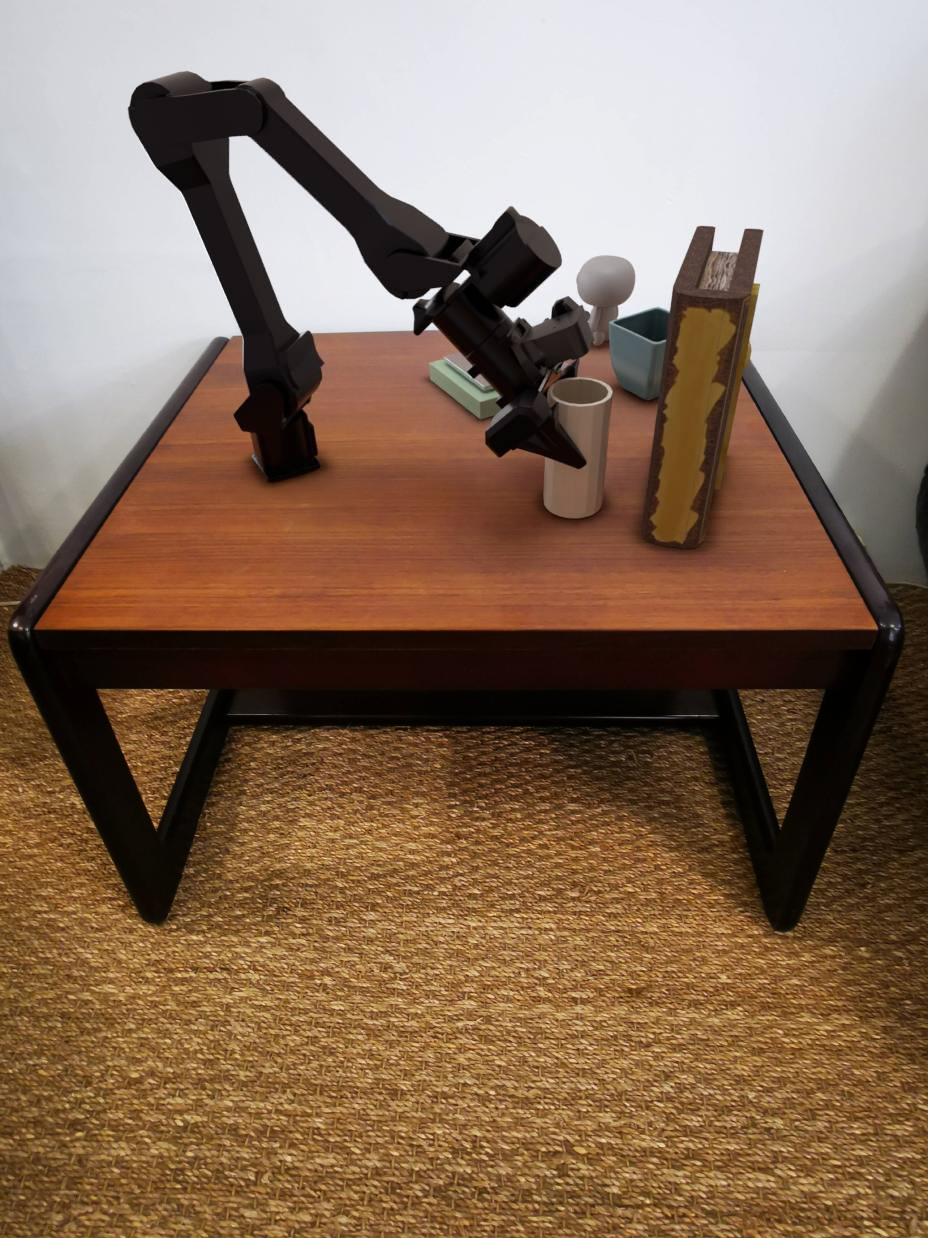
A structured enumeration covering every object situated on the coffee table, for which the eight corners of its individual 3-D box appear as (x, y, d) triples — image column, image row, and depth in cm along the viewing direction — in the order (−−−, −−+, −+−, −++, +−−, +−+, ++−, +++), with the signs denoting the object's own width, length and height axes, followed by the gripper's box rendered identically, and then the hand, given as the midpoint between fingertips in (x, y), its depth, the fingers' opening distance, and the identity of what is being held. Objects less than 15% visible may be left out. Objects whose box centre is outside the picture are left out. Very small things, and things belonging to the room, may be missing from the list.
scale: (480, 419, 105) (479, 399, 103) (429, 379, 115) (428, 360, 113) (571, 392, 110) (572, 372, 108) (515, 356, 120) (515, 337, 118)
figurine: (593, 328, 126) (599, 245, 118) (637, 339, 123) (646, 254, 115) (564, 346, 122) (568, 261, 114) (609, 358, 118) (616, 271, 110)
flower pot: (696, 392, 109) (707, 325, 103) (647, 412, 105) (656, 343, 99) (649, 370, 115) (657, 305, 109) (601, 387, 111) (606, 321, 105)
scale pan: (484, 390, 105) (484, 386, 104) (443, 360, 112) (443, 356, 112) (556, 370, 109) (556, 366, 108) (512, 342, 116) (512, 337, 116)
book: (712, 553, 82) (763, 301, 66) (627, 539, 85) (656, 292, 68) (731, 446, 98) (777, 221, 82) (659, 437, 100) (689, 216, 84)
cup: (565, 524, 87) (572, 411, 78) (532, 497, 91) (536, 386, 83) (613, 507, 89) (625, 395, 81) (579, 481, 93) (587, 371, 85)
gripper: (519, 319, 69) (638, 452, 74) (565, 249, 82) (663, 365, 87) (435, 396, 76) (548, 514, 81) (490, 320, 89) (584, 424, 94)
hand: (589, 450), depth 85 cm, fingers closed on cup, 6 cm apart
